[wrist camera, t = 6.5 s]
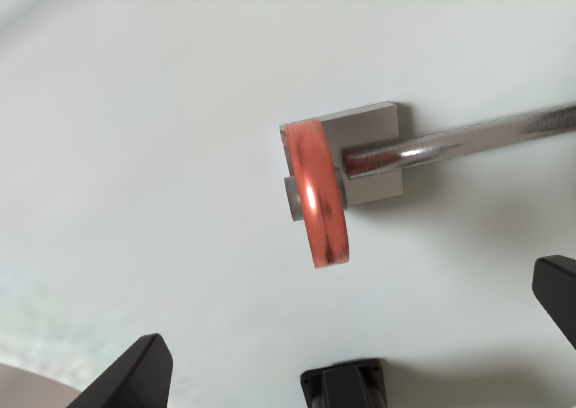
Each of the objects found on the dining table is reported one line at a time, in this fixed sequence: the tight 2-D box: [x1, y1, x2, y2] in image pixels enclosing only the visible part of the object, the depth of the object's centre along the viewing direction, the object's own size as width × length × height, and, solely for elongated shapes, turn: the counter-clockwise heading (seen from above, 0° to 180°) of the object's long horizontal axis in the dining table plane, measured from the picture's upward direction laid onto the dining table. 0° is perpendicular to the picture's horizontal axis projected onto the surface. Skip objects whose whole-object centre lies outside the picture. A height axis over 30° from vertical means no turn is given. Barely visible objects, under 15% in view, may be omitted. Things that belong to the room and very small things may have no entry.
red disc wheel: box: [280, 102, 576, 269], centre depth 14 cm, size 6×18×8 cm, turn 102°
